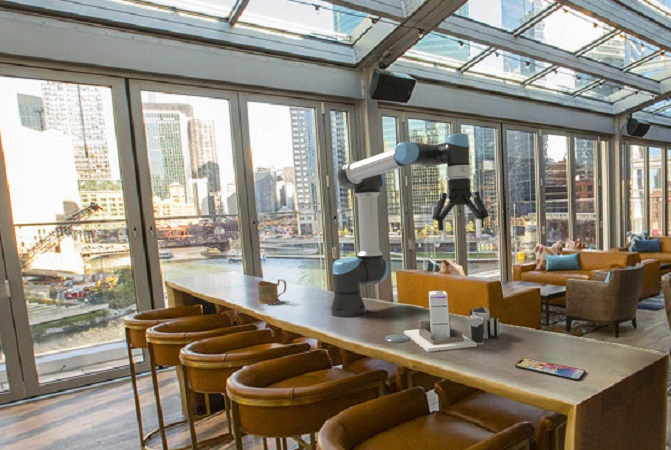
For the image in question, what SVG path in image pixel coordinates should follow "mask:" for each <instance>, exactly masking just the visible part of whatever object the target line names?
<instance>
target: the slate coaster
mask: <svg viewBox="0 0 671 450" xmlns="http://www.w3.org/2000/svg"><path fill="white" fill-rule="evenodd" d="M409 340H410V338H409V337H408V336H407V335H406V334H400V333H399V334H398V333H397V334H396V333H395V334H389V335H386V336H384V341H385V342H388V343H392V344H402V343H406V342H409Z"/></svg>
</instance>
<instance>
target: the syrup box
mask: <svg viewBox="0 0 671 450" xmlns="http://www.w3.org/2000/svg"><path fill="white" fill-rule="evenodd" d="M448 296H449V295H448V293H447V291H446V290H432V291H431V290H430V291H428V304H429V305H428V308H429V319H430V325H431V333H432V334H433V335H434V338H435V339H442V338H450V327H449V318H450V316H449V315H450V313H449V299H448Z"/></svg>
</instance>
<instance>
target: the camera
mask: <svg viewBox="0 0 671 450" xmlns="http://www.w3.org/2000/svg"><path fill="white" fill-rule="evenodd" d="M490 315H491V313H490V310H489V309H487V308H486V306H481V307H476V308H473V309H470V310H469V319H470V333H471V338H470V339H471V340H473V341H474V342H476V343H477V346H478V345H484V341H485V339H487V340H488V339H489V336H490V337H496V338H497V337H499V336H500V324H499V322H500V321H499V320H500V319H499V318H497V317H490Z"/></svg>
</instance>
